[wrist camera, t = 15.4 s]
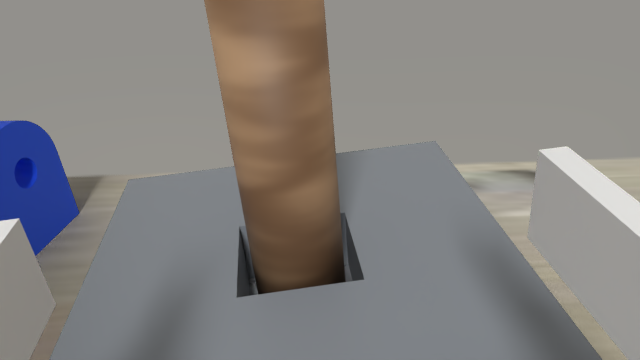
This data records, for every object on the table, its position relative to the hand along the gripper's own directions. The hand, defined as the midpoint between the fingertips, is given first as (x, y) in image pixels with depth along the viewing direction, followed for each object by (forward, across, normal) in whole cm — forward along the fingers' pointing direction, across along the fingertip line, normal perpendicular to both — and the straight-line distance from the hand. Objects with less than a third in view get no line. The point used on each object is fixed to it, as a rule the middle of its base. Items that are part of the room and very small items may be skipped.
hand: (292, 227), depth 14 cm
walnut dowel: (+9, 0, -11) cm, 14 cm away
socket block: (+9, 0, -12) cm, 15 cm away
